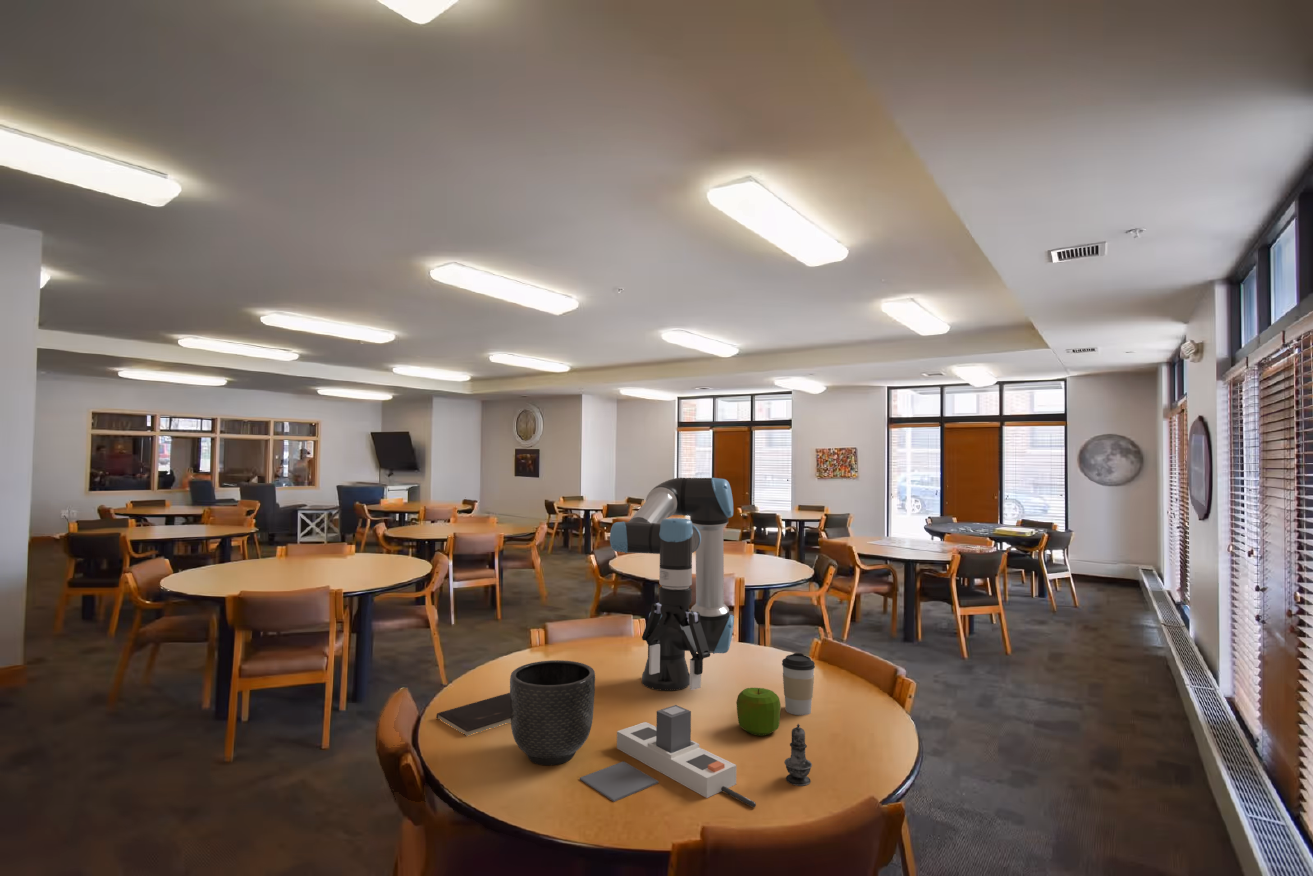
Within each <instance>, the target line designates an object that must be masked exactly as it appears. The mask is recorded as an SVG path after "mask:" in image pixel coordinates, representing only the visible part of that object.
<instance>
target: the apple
mask: <svg viewBox="0 0 1313 876" xmlns="http://www.w3.org/2000/svg"><path fill="white" fill-rule="evenodd" d="M735 703H736V715H737V722H738V725H739V727H741V729H742V730H744V731H745V732H746V733H748V734H751V735H754V736H762V737H763V736H768V735H771V733H773V732H774V731H777V730H778V729H779V727H780V721H781V719H780V717H781V706H782V705H781V701H780V697H779V696H778V695H777V693H776V692H775V691H773V690H770V689H768V688H764V687H747V688H746V687H745V688H744V689H743V690H742V691H740V693H739V694H738V695H737V699H736V701H735Z"/></svg>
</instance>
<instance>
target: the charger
mask: <svg viewBox="0 0 1313 876" xmlns="http://www.w3.org/2000/svg"><path fill="white" fill-rule="evenodd" d="M691 724H692V711H691V710H689V709H687V708H684V707H682V706H680V705H677V704H674V705H671V706H668V707H664V708H662V709H659V710H657V711H656V746H657V747H659V748H661V749H663V750H665V751H667V752H669V753H673V752H676V751H678V750H681V749H684V748H686V747H689V746H691V739H692V737H691V734H692V733H691V732H692V727H691V726H692V725H691Z"/></svg>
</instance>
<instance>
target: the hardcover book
mask: <svg viewBox="0 0 1313 876" xmlns="http://www.w3.org/2000/svg"><path fill="white" fill-rule="evenodd" d="M436 718H438V719H441V720H442V721H443V722H445V723H447V724H449V725H450V726H452V727H453V728H455V729H457V730H458V731H459V732H458V731H457V730H456V731H457V732H458V733H460V732H462V733H464V734H465V735H466V736H465V735H464V736H465V737H467V736H468V735H471V734H473V733H476V732H480V733H482V732H481V731H483V730H486V729H489V728H493V729H495V728H494V727H496V728H498V727H497V726H499V725H502V724H505V723H509V724H511V718H510V692H506V693H504V694H500V695H496V696H492V697H489V698H486V699H482V700H479V701H474V702H472V703H471V702H470V703H468V704H464V705H462V706H458V707H457V706H456V707H454V708H450V709H447V710H443V711H440V712H438V713H436ZM438 719H437V720H438ZM442 721H441V722H442ZM443 722H442V723H443ZM445 723H444V724H445ZM447 724H446V725H447ZM505 725H506V724H505ZM450 726H449V727H450ZM502 726H503V725H502ZM452 727H451V728H452ZM499 727H500V726H499ZM453 728H452V729H453ZM455 729H454V730H455ZM462 733H461V734H462ZM471 736H472V735H471ZM468 737H469V736H468Z"/></svg>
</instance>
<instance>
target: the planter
mask: <svg viewBox="0 0 1313 876" xmlns="http://www.w3.org/2000/svg"><path fill="white" fill-rule="evenodd" d="M509 678H510V679H509V693H510V718H511V723H510V728H511V733H512V736H513V740H514V742H515V744H516V745H517V746H518V748H519V749H520V750H521V751H522V752H523V753H524V754H526V756H527V758H528V759H529V761H530V762H532V763H534V764H537V765H540V766H556V765H557V766H558V765H561V764H564V763H567V762H569V761H570V760H572V759H573V758H574V756H575V755H576V753H577V752H578V750H580V749H581V747H582V746H584V744H585V743H586V741H587V740H588V738H589V735H590V733H591V729H592V726H593V725H592V724H593V719H594V708H595V707H594V706H595V692H596V689H595V688H596V673H595V670H594V668H593V667H592V666H590V665H588V664H586V663H584V662H583V663H582V662H579V661H573V660H562V659H561V660H558V659H557V660H542V661H535V662H531V663H526V664H524V665H521V666H519V667H517V668H515V669H514V670H512V672H511V674H510V677H509Z"/></svg>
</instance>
